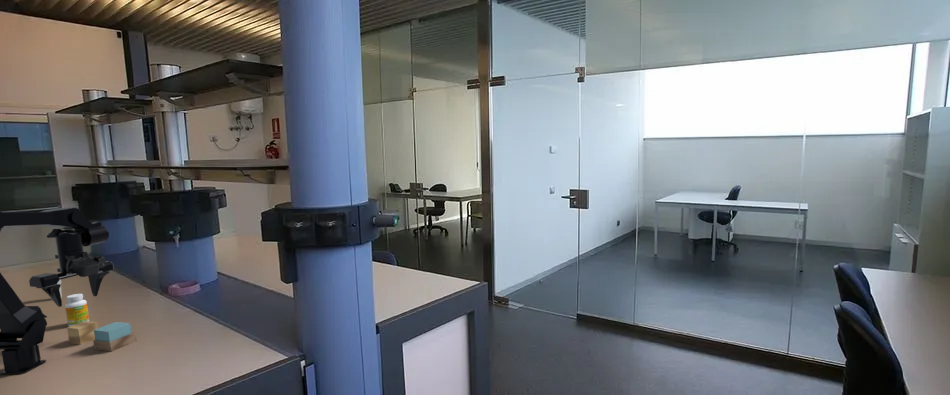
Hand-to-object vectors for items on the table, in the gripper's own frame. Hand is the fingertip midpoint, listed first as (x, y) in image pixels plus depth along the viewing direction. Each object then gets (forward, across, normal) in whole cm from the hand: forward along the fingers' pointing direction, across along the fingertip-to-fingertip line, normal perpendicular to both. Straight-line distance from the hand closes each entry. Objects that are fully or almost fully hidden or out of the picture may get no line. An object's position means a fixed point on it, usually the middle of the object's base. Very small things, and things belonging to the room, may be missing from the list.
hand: (78, 301), depth 133 cm
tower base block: (+13, 0, -14) cm, 19 cm away
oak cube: (+12, 0, 0) cm, 12 cm away
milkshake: (+12, +26, +60) cm, 67 cm away
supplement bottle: (+12, +10, +18) cm, 24 cm away
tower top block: (+10, 0, -14) cm, 17 cm away
